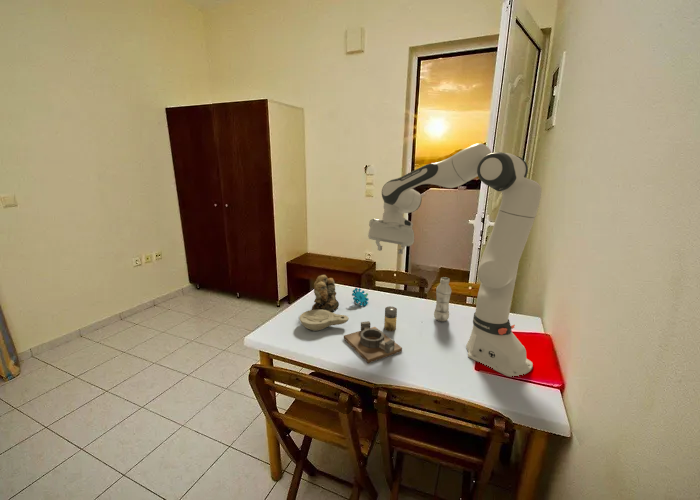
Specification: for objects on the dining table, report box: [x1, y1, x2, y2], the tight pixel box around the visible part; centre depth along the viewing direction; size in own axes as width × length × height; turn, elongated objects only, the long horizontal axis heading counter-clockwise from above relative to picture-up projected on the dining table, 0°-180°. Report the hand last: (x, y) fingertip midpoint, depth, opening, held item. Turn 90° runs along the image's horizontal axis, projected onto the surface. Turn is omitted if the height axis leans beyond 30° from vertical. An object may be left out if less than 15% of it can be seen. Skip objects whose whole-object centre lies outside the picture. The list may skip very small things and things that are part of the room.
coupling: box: [383, 306, 398, 332], centre depth 130 cm, size 5×5×9 cm
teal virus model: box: [351, 287, 369, 307], centre depth 155 cm, size 11×6×10 cm
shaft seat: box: [343, 321, 403, 364], centre depth 118 cm, size 19×15×5 cm
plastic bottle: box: [433, 276, 452, 323], centre depth 136 cm, size 6×7×20 cm
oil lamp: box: [299, 309, 350, 331], centre depth 131 cm, size 21×14×5 cm
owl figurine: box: [311, 274, 340, 313], centre depth 147 cm, size 18×12×17 cm, turn 160°
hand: (390, 252), depth 131 cm, fingers open, 8 cm apart
